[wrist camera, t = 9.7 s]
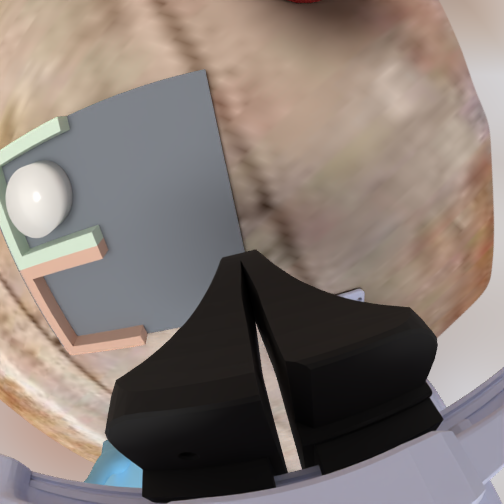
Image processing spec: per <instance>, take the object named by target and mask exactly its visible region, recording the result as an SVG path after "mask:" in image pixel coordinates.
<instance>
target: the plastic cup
mask: <svg viewBox="0 0 504 504" xmlns="http://www.w3.org/2000/svg"><path fill="white" fill-rule="evenodd" d="M288 1H291V2H295V3H312V2H318V1H320V0H288Z"/></svg>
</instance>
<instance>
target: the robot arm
mask: <svg viewBox="0 0 504 504" xmlns="http://www.w3.org/2000/svg"><path fill="white" fill-rule="evenodd" d="M358 298H359V299H358ZM357 299H358V300H357ZM255 322H256V323H255ZM256 324H257V327H258V329H259V332H260V335H261V337H262V340H263V342H264V345H265V347H266V350H267V353H268V355H269V358H270V360H271V363H272V365H273V368H274V371H275V374H276V377H277V380H278V384H279V388H280V391H281V395H282V398H283V402H284V406H285V409H286V413H287V416H288V420H289V424H290V427H291V431H292V434H293V438H294V442H295V445H296V449H297V452H298V456H299V460H300V464H301V467H302V470H298V471H294V472H290V473H288V471H287V468H286V464H285V460H284V457H283V453H282V449H281V445H280V442H279V438H278V434H277V430H276V426H275V423H274V419H273V415H272V411H271V407H270V403H269V399H268V395H267V391H266V387H265V383H264V379H263V373H262V367H261V360H260V352H259V345H258V337H257V330H256ZM437 346H438V344H437V337H436V336H435V334H434V333H433V332H432V331H431V330H430V328H429V327H428V326H427V325H426V324H425V322H424V321H423V320H422V319H421V318H420V317H419V316H418V315H417V314H416V313H415V312H414V311H413V310H412V309H411V308H410V307H399V306H388V305H378V304H372V303H367V302H364V291H363V290H362V289H356V290H353V291H350V292H346V293H343V294H340V295H334V294H331V293H328V292H325V291H322V290H320V289H317V288H315V287H313V286H310V285H308V284H306V283H304V282H302V281H300V280H298V279H296V278H294V277H293V276H291V275H289V274H288V273H286V272H285V271H283V270H282V269H280V268H279V267H277V266H276V265H275V264H273V263H272V262H271V261H269V260H268V259H267V258H266V257H264V256H263V255H262V254H261V253H260V252H259V251H257V250H251V251H247V252H243V253H239V254H235V255H230V256H226V257H222V259H221V260H220V263H219V265H218V268H217V271H216V273H215V275H214V277H213V280H212V282H211V284H210V286H209V288H208V290H207V291H206V293H205V295H204V297H203V298H202V300H201V302H200V303H199V305H198V306H197V308H196V309H195V311H194V312H193V314H192V315H191V316H190V318H189V319H188V320H187V321H186V323H185V324H184V325H183V326H182V327H181V328H180V329H179V330H178V331H177V332H176V333H175V334H174V335H173V336H172V338H171V339H170V340H169V341H167V342H166V343H165V344H164V345H163V346H162V347H161V348H160V349H159V350H157V351H156V352H155V353H154V354H153V355H151V356H150V357H149V358H148V359H146V360H145V361H144V362H143V363H141V364H140V365H138V366H137V367H135V368H134V369H132V370H131V371H130V372H128V373H127V374H125V375H124V376H122V377H121V378H119V379H117V380H116V382H115V386H114V389H113V392H112V396H111V401H110V407H109V412H108V418H107V424H106V430H105V434H106V436H107V439H108V441H109V442H110V443H111V444H112V445H113V446H114V447H115V448H116V449H117V450H118V451H119V452H120V453H121V454H123V455H124V456H125V457H126V458H128V459H129V460H130V461H132V462H133V463H134V464H136V465H137V466H138V467H140V468H141V469H143V475H142V488H131V487H117V486H107V485H98V484H91V483H84V482H78V481H72V480H66V479H62V478H57V477H53V476H49V475H45V474H41V473H37V472H33V471H31V470H30V469H29V468H27V467H26V466H25V465H23V464H22V463H20V462H19V461H17V460H15V459H14V458H11V457H9V456H5V455H2V454H0V504H502V502H501V500H500V498H499V496H498V494H497V492H496V490H495V488H494V486H493V485H492V483H491V481H490V479H491V478H492V477H494V476H495V475H496V474H497V473H498V472H499V471H500V470H501V469H502V468H503V467H504V367H503V368H502V369H501V370H499V371H498V372H497V373H496V374H494V375H493V376H492V377H490V378H489V379H488V380H487V381H485V382H484V383H483V384H481V385H480V386H478V387H477V388H476V389H474V390H473V391H471V392H470V393H469V394H467V395H466V396H464V397H462V398H461V399H459V400H458V401H456V402H455V403H453V404H452V405H450V406H448V407H446V406H445V404H444V402H443V400H442V399H441V397H440V396H439V394H438V392H437V391H436V389H435V388H434V387H433V385H432V384H431V383H430V382H429V380H428V379H427V376H428V374H429V372H430V369H431V367H432V364H433V362H434V359H435V355H436V351H437Z"/></svg>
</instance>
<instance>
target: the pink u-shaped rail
mask: <svg viewBox="0 0 504 504" xmlns="http://www.w3.org/2000/svg"><path fill="white" fill-rule="evenodd" d="M107 251H108V248H107V245H106V243H105V240H104V238H103V239H102V240H101V241H100V243H99V244H98V245H97V246H95V247H91V248H88V249H85V250H82V251H78V252H75V253H72V254H69V255H66V256H62V257H59V258H56V259H53V260H50V261H47V262H44V263H41V264H38V265H35V266H32V267H29V268H26V269H23V270H20V273H21V275H22V277H23V279H24V280H25V282H26V284H27V286H28V288H29V290H30V292H31V294H32V296H33V297H34V299H35V301H36V303H37V304H38V306H39V308H40V310H41V311H42V313H43V315H44V316H45V318H46V320H47V321H48V323H49V324H50V326H51V328H52V329H53V331H54V332H55V334H56V335H57V337H58V338H59V340H60V341H61V343H62V344H63V346H64V347H65V349H66V350H67V351H68V353H69V354H70V355H78V354H86V353H94V352H102V351H109V350H116V349H122V348H129V347H135V346H141V345H145V344H146V339H147V332H146V330H145V328H144V326H143V325H138V326H133V327H128V328H122V329H117V330H111V331H105V332H100V333H94V334H88V335H81V336H77V335H76V333H75V332H74V330H73V329H72V327H71V325H70V324H69V322H68V321H67V319H66V317H65V315H64V314H63V312H62V310H61V309H60V307H59V305H58V303H57V302H56V300H55V298H54V296H53V294H52V292H51V291H50V289H49V287H48V285H47V283H46V281H45V279H44V277H43V276H45V275H48V274H52V273H55V272H58V271H62V270H65V269H69V268H72V267H76V266H79V265H83V264H86V263H90V262H93V261H97V260H100V259H103V258H104V256H105V254H106V253H107Z"/></svg>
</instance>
